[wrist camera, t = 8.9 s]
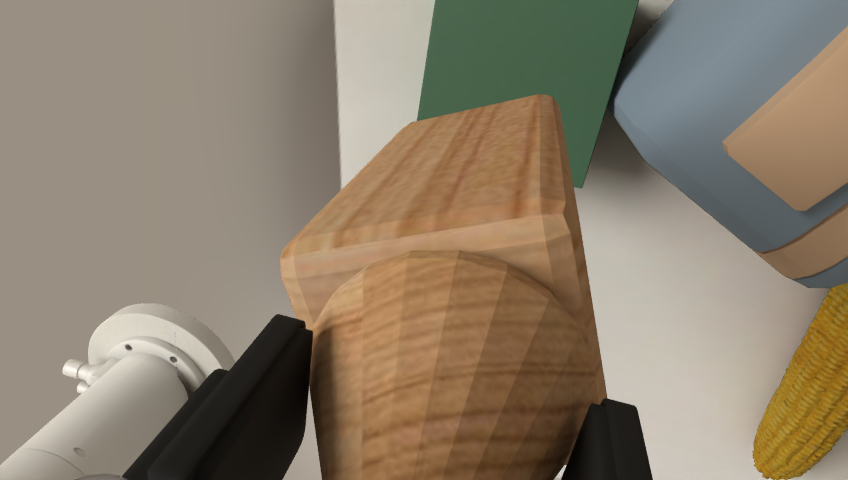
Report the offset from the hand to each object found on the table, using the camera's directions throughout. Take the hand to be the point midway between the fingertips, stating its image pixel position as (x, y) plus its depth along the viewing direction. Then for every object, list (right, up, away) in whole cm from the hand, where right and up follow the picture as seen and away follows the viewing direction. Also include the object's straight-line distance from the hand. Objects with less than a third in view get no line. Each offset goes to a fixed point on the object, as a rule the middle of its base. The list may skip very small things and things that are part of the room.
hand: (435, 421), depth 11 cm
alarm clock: (+23, +15, +27) cm, 39 cm away
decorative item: (+3, +6, +14) cm, 15 cm away
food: (+32, -6, +35) cm, 48 cm away
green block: (+7, +16, +30) cm, 35 cm away
